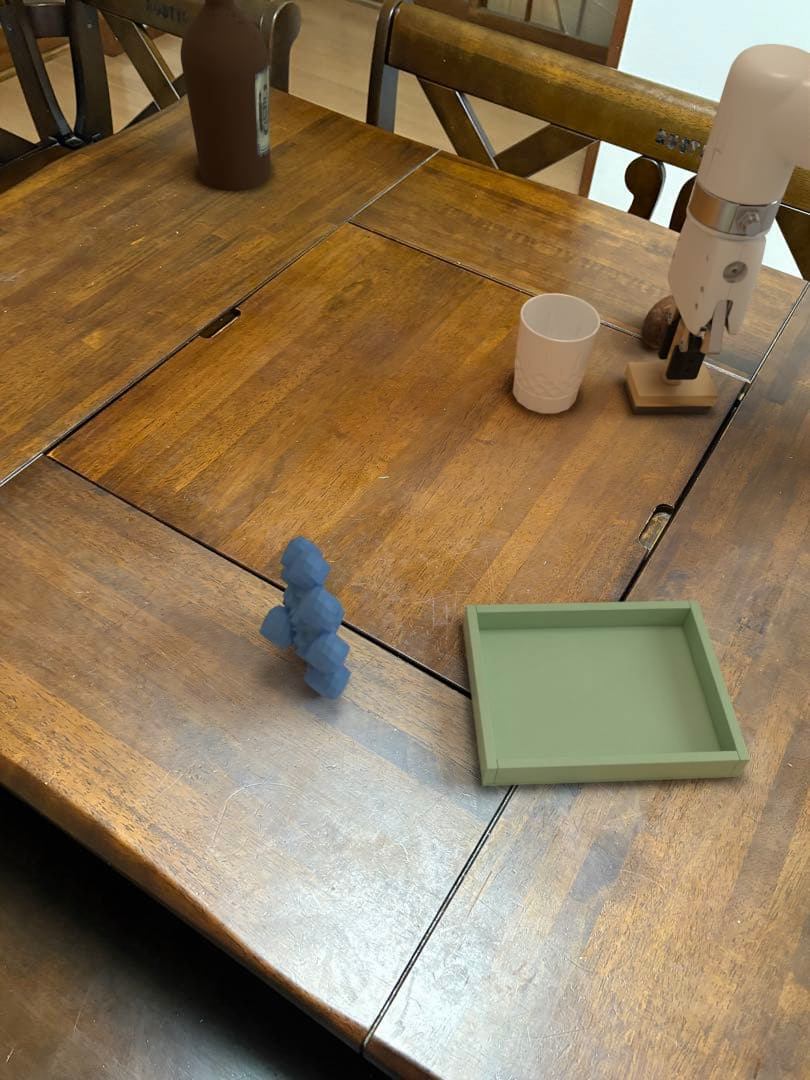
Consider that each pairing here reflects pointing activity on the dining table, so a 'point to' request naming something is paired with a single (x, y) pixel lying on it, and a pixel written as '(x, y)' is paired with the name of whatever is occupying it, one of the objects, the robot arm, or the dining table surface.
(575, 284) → the dining table surface
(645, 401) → the brush
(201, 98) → the olive oil
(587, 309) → the white cup
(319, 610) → the grapes
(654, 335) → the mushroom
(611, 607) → the tray
